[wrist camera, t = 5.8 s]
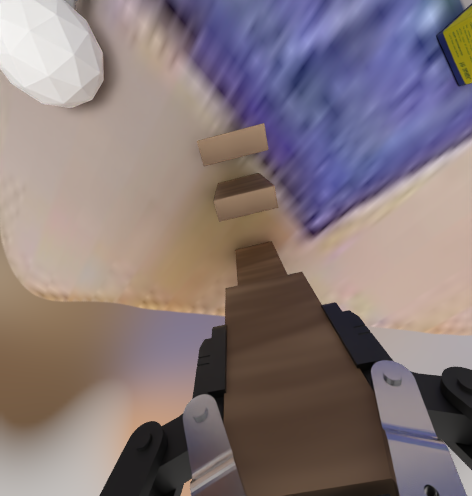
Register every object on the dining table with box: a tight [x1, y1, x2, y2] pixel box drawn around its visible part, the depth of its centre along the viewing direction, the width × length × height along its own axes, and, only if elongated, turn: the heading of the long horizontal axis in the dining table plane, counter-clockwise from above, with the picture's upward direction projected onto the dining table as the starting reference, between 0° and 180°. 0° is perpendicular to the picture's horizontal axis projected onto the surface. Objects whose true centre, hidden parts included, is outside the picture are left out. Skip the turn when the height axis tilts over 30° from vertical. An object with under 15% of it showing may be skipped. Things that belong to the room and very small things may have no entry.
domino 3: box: [235, 242, 287, 286], centre depth 27 cm, size 2×5×10 cm, turn 103°
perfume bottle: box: [0, 0, 104, 108], centre depth 19 cm, size 8×8×12 cm
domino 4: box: [224, 272, 396, 496], centre depth 11 cm, size 2×5×10 cm, turn 103°
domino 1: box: [197, 123, 268, 166], centre depth 22 cm, size 2×5×10 cm, turn 103°
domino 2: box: [213, 173, 278, 222], centre depth 24 cm, size 2×5×10 cm, turn 104°
